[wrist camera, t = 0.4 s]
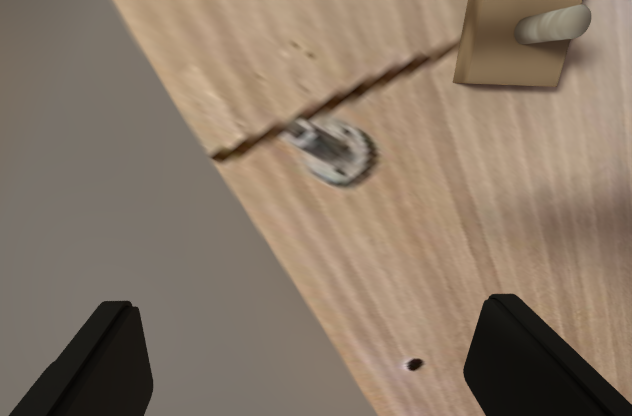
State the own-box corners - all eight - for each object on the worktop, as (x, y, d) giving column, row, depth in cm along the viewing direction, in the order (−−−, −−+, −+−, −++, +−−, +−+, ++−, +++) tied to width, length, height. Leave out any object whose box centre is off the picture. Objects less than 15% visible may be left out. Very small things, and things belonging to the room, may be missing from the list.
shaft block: (472, -26, 32) (538, -60, 24) (564, -19, 33) (658, -49, 25) (452, 82, 36) (503, 85, 28) (536, 85, 37) (608, 89, 29)
